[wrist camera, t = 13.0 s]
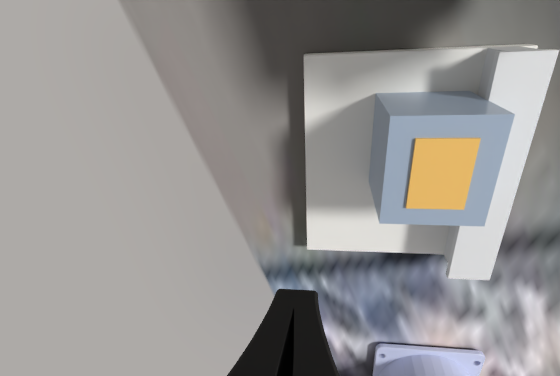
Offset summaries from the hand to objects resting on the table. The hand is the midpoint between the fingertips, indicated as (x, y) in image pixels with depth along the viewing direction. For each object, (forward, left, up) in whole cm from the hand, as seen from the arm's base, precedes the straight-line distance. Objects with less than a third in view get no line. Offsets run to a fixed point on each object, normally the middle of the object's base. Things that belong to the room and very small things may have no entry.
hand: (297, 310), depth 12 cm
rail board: (+1, -5, -10) cm, 12 cm away
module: (+3, -6, -9) cm, 11 cm away
